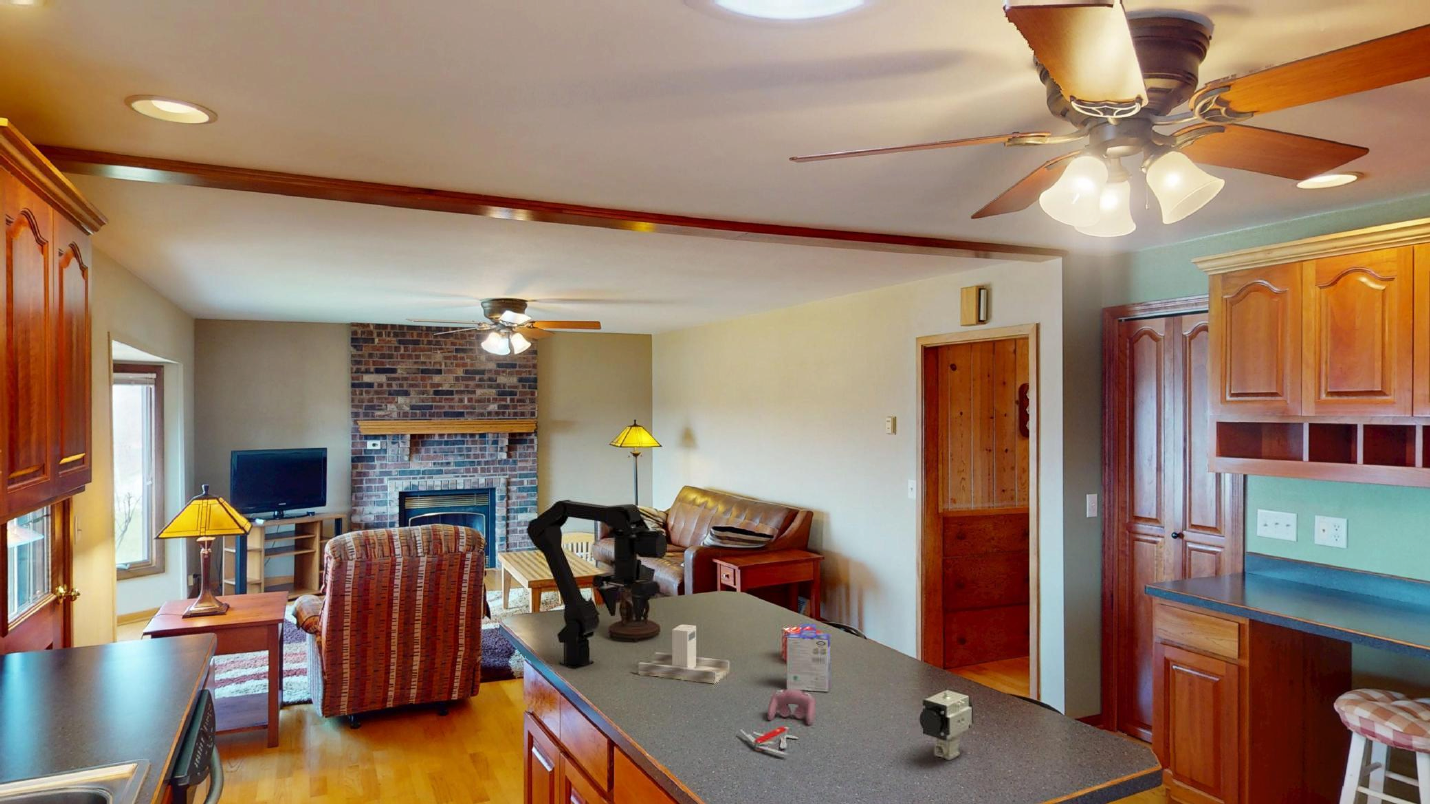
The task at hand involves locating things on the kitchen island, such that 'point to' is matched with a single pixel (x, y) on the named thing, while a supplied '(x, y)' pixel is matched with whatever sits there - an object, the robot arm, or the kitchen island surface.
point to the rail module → (684, 646)
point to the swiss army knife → (770, 739)
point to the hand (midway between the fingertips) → (625, 618)
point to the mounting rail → (686, 669)
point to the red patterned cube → (785, 634)
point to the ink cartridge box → (808, 660)
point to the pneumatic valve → (946, 720)
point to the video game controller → (792, 697)
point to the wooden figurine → (632, 619)
